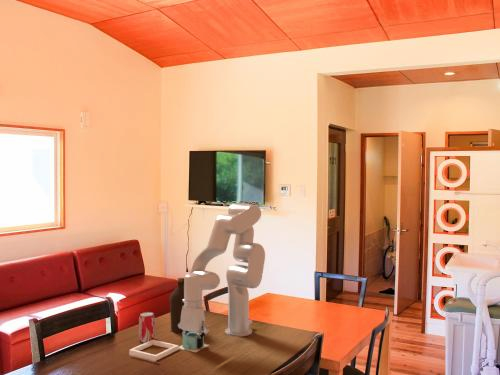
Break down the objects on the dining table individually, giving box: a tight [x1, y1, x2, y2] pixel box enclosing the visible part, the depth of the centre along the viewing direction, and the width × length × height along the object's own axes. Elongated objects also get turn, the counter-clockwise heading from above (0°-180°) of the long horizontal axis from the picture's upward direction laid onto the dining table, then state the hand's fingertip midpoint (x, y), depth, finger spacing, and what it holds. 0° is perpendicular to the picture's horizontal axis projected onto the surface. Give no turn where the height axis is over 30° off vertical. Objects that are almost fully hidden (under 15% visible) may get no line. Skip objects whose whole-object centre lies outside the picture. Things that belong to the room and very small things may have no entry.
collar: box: [181, 331, 205, 351], centre depth 202 cm, size 8×6×5 cm
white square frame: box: [128, 339, 180, 363], centre depth 196 cm, size 14×14×2 cm
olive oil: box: [169, 277, 184, 334], centre depth 224 cm, size 11×11×25 cm
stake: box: [179, 343, 210, 353], centre depth 203 cm, size 10×10×5 cm
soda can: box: [138, 311, 156, 344], centre depth 211 cm, size 7×7×12 cm
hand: (193, 345), depth 203 cm, fingers closed on collar, 6 cm apart
